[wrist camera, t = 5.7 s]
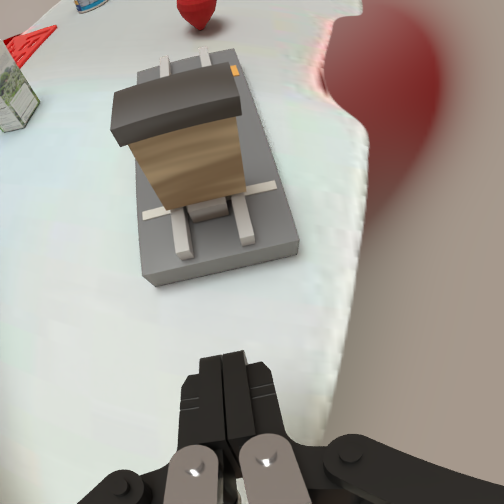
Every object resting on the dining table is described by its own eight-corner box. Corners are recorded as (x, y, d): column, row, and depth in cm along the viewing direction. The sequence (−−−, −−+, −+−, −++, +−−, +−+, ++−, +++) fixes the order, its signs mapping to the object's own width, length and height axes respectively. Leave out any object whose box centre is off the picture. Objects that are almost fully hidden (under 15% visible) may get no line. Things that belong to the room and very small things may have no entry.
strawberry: (219, 16, 42) (212, -34, 33) (222, 36, 39) (213, -20, 30) (184, 22, 42) (172, -27, 33) (182, 43, 39) (168, -12, 30)
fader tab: (253, 209, 25) (240, 98, 14) (169, 228, 25) (110, 133, 14) (243, 171, 26) (228, 59, 16) (165, 190, 26) (114, 90, 15)
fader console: (296, 254, 27) (301, 231, 22) (155, 286, 26) (134, 269, 22) (236, 66, 36) (232, 38, 32) (144, 89, 36) (133, 63, 32)
